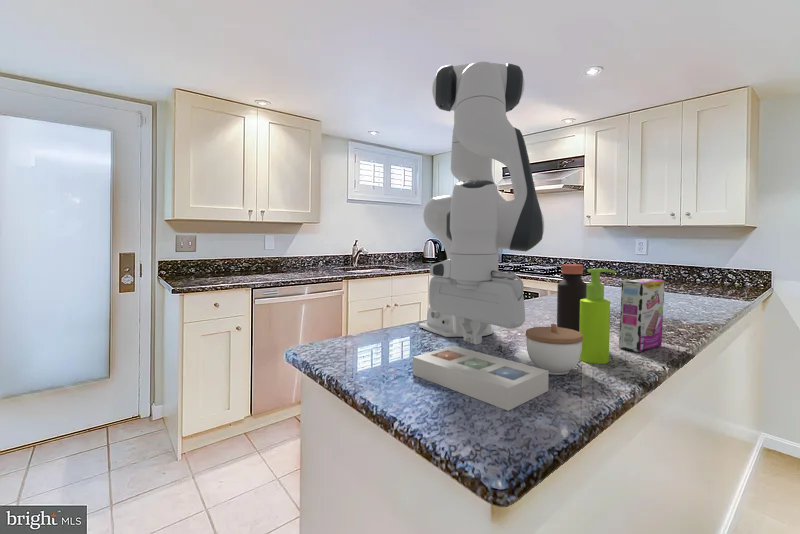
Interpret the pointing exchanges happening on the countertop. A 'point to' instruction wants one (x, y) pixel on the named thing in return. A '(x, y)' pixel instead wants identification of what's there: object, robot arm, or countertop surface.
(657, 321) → the candy bar box
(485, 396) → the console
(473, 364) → the button sage
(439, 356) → the button terracotta
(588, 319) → the soap dispenser
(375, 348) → the countertop surface
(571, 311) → the bottle
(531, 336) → the lidded jar
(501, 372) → the button slate
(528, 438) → the countertop surface
